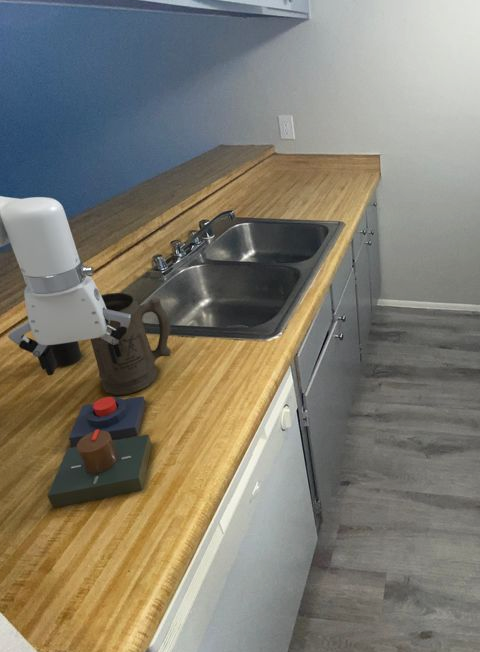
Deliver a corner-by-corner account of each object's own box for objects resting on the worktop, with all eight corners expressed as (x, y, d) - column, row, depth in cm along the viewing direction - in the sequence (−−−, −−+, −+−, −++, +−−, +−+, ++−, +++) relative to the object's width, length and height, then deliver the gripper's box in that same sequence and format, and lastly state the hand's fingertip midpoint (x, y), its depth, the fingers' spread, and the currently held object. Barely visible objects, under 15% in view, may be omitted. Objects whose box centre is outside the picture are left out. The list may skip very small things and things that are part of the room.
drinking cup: (42, 361, 109) (12, 284, 99) (78, 346, 114) (53, 272, 105) (58, 374, 105) (27, 295, 96) (94, 357, 110) (69, 282, 101)
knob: (113, 470, 79) (105, 447, 77) (81, 476, 78) (71, 453, 75) (120, 449, 83) (113, 426, 81) (89, 454, 82) (81, 431, 79)
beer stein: (109, 404, 97) (90, 320, 89) (91, 380, 103) (72, 299, 95) (183, 375, 108) (173, 297, 99) (163, 355, 114) (151, 280, 105)
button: (93, 418, 89) (90, 411, 88) (98, 405, 92) (95, 398, 91) (114, 415, 90) (112, 408, 89) (118, 402, 93) (116, 395, 92)
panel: (53, 508, 76) (46, 494, 74) (72, 460, 84) (66, 447, 83) (142, 490, 79) (138, 477, 78) (152, 446, 88) (148, 433, 86)
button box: (71, 446, 87) (65, 430, 85) (85, 413, 95) (79, 398, 93) (137, 435, 90) (133, 419, 88) (146, 404, 98) (141, 389, 96)
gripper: (121, 261, 80) (143, 344, 88) (-4, 274, 74) (32, 362, 82) (114, 280, 74) (139, 367, 82) (-22, 296, 68) (18, 389, 76)
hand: (85, 364), depth 82 cm, fingers open, 9 cm apart
